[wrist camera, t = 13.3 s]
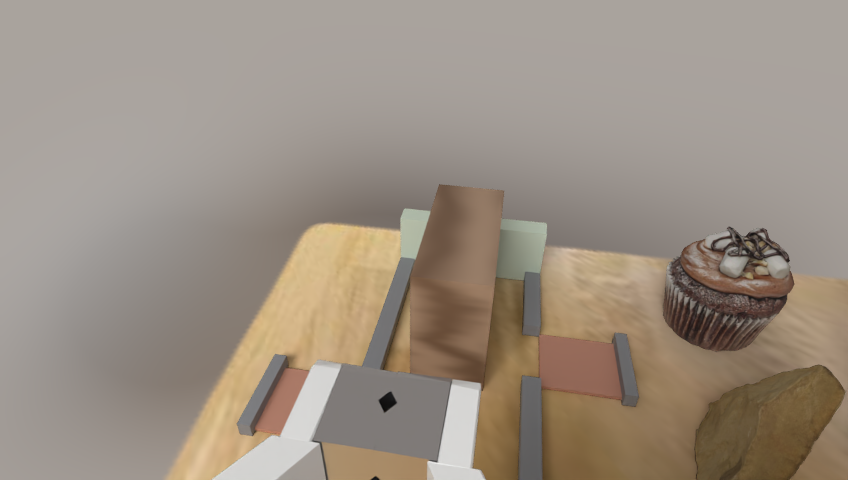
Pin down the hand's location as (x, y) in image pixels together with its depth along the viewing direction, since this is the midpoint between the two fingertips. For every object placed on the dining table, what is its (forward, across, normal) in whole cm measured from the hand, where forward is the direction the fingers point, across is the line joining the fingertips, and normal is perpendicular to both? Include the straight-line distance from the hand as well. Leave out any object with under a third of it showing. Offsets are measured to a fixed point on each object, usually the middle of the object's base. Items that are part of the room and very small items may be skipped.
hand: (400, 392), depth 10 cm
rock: (+19, -19, +27) cm, 38 cm away
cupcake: (+35, -22, +28) cm, 50 cm away
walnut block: (+30, +2, +27) cm, 40 cm away
